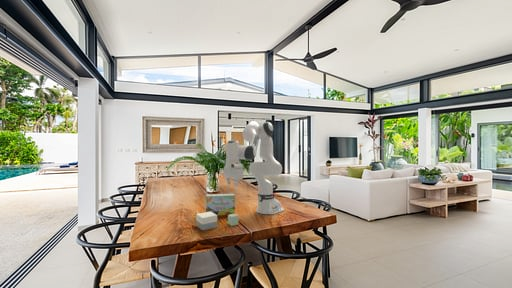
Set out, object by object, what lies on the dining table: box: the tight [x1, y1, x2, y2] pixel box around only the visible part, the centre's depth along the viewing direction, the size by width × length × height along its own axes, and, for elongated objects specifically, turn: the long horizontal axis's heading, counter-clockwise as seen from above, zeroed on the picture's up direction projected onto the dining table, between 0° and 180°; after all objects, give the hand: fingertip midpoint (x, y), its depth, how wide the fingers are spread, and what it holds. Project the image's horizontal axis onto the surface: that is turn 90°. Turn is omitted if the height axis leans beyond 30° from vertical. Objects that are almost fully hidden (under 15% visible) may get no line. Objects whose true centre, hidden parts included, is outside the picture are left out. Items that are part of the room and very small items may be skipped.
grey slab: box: [195, 219, 218, 231], centre depth 153 cm, size 10×10×4 cm
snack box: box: [205, 193, 236, 216], centre depth 179 cm, size 21×6×15 cm, turn 101°
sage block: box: [227, 213, 239, 227], centre depth 158 cm, size 5×5×6 cm
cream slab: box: [195, 211, 218, 225], centre depth 153 cm, size 10×10×4 cm
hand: (232, 185), depth 158 cm, fingers open, 8 cm apart
